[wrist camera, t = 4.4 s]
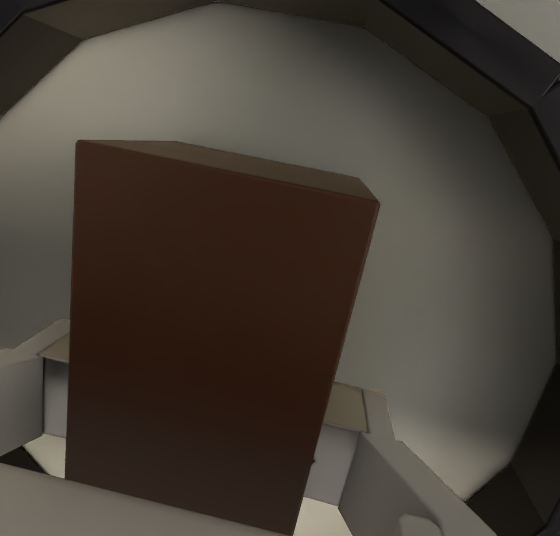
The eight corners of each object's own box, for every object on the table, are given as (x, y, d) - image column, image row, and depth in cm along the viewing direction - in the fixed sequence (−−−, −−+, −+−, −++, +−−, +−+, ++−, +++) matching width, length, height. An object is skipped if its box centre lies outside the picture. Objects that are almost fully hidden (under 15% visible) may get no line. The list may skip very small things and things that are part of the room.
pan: (-99, -98, 9) (-246, -181, 7) (741, 48, 8) (905, 10, 6) (-40, 631, 16) (-101, 711, 14) (402, 754, 15) (415, 862, 13)
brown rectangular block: (173, 140, 10) (73, 138, 6) (360, 178, 10) (381, 201, 6) (139, 471, 13) (59, 610, 9) (280, 506, 13) (259, 664, 9)
